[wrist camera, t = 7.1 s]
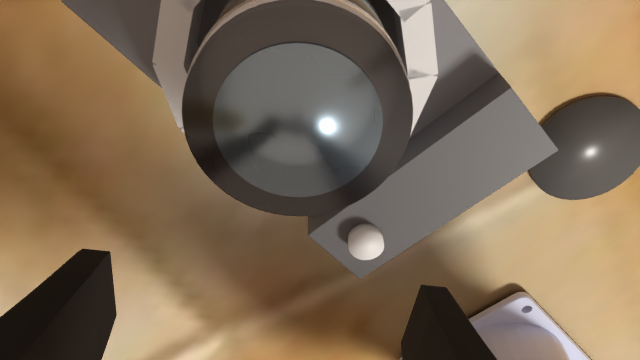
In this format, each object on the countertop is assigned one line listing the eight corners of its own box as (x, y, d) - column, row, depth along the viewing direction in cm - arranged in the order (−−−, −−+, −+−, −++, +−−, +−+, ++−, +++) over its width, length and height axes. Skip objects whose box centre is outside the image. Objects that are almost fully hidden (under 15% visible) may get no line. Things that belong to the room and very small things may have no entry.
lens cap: (661, 148, 21) (669, 155, 21) (557, 210, 23) (563, 217, 23) (612, 68, 20) (619, 73, 19) (503, 141, 21) (508, 148, 21)
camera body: (509, 90, 20) (566, 159, 15) (352, 204, 22) (361, 291, 18) (269, -227, 14) (248, -263, 10) (104, -24, 17) (31, 18, 13)
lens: (399, -27, 14) (455, 42, 9) (352, 117, 16) (374, 239, 11) (237, -73, 13) (193, -28, 8) (212, 85, 16) (165, 199, 10)
